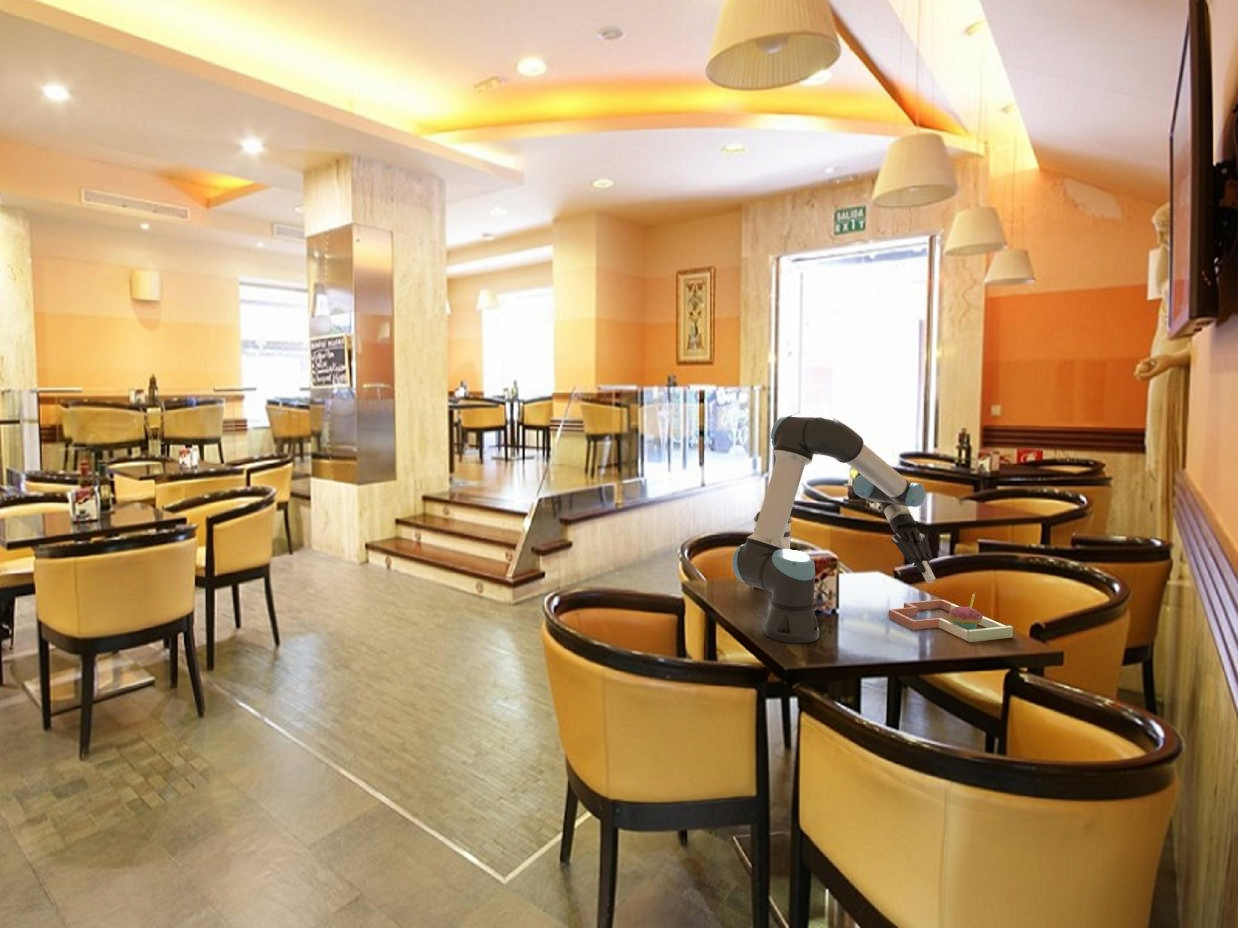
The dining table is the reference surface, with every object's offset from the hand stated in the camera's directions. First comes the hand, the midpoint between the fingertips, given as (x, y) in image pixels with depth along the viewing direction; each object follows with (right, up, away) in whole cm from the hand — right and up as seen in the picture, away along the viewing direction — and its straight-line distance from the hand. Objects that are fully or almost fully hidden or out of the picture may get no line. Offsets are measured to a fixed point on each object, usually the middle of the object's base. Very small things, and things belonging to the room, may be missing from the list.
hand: (931, 581), depth 215 cm
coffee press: (-45, -7, +26) cm, 52 cm away
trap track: (-1, -11, -10) cm, 15 cm away
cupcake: (+2, -12, -16) cm, 20 cm away
